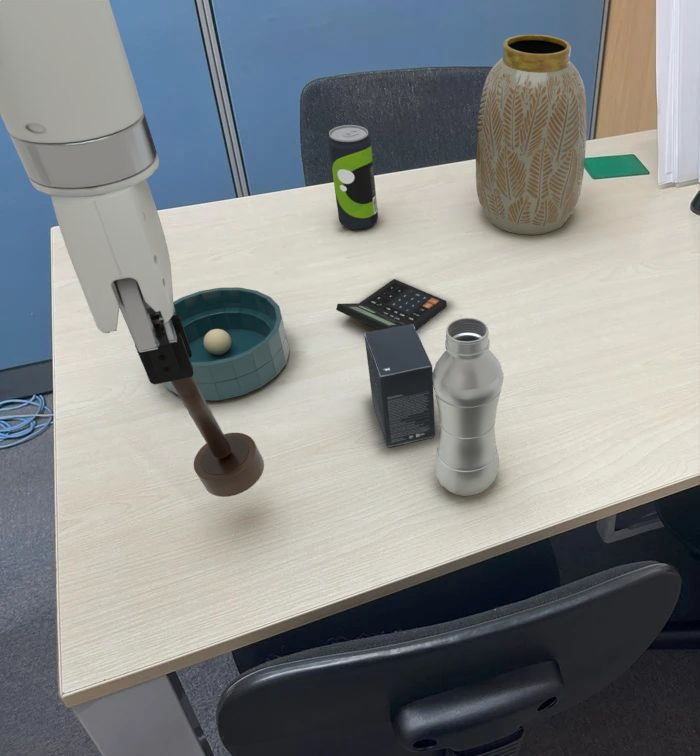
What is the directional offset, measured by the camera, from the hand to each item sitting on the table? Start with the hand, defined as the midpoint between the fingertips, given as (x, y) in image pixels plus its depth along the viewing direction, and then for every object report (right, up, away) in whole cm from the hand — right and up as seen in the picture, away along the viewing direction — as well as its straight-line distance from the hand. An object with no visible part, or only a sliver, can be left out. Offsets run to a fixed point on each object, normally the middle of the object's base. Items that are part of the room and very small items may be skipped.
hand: (172, 368), depth 56 cm
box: (+15, -6, +25) cm, 29 cm away
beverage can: (+3, +24, +58) cm, 63 cm away
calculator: (+12, +8, +40) cm, 42 cm away
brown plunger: (+1, -10, +9) cm, 14 cm away
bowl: (-8, +1, +31) cm, 32 cm away
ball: (-9, +4, +30) cm, 32 cm away
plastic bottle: (+23, -12, +18) cm, 31 cm away
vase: (+30, +26, +61) cm, 73 cm away
